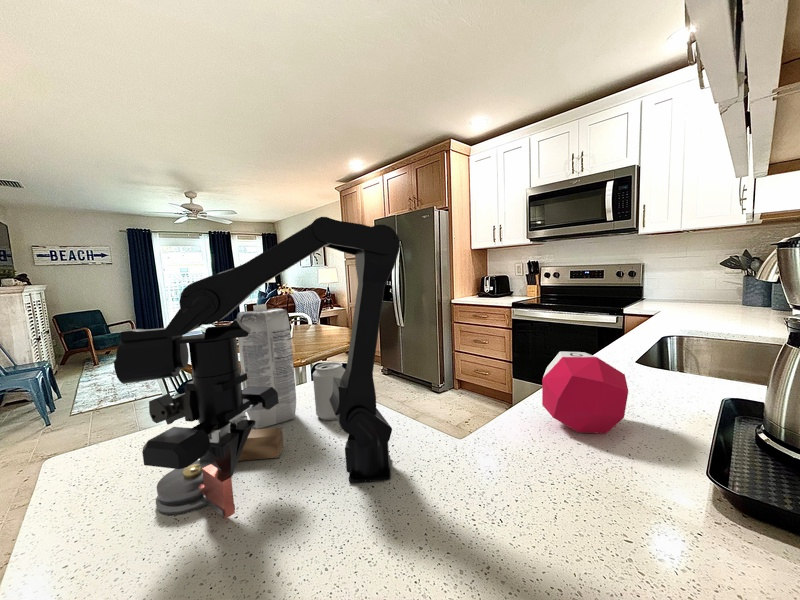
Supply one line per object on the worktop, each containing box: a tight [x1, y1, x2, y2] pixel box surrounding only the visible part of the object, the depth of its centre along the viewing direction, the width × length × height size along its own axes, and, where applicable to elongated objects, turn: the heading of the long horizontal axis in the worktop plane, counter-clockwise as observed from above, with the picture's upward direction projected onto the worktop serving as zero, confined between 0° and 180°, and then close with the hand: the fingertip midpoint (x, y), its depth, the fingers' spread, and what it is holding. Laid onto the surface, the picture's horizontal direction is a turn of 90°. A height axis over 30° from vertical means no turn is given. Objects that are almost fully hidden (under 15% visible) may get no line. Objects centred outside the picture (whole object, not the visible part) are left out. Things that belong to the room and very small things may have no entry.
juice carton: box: [236, 303, 297, 429], centre depth 76 cm, size 9×10×27 cm
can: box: [312, 361, 346, 421], centre depth 77 cm, size 8×8×12 cm
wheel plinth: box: [155, 495, 209, 517], centre depth 51 cm, size 10×10×1 cm
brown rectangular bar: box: [238, 426, 285, 462], centre depth 61 cm, size 14×4×4 cm, turn 93°
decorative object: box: [541, 351, 629, 435], centre depth 64 cm, size 15×15×15 cm
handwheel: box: [156, 458, 236, 519], centre depth 48 cm, size 16×9×5 cm, turn 53°
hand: (228, 476), depth 47 cm, fingers closed
